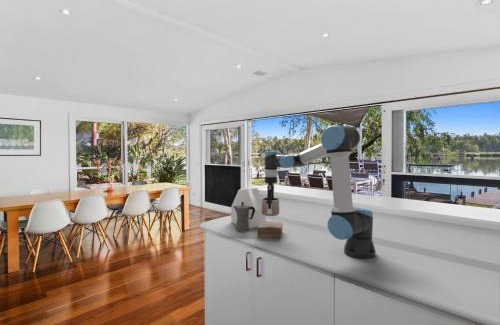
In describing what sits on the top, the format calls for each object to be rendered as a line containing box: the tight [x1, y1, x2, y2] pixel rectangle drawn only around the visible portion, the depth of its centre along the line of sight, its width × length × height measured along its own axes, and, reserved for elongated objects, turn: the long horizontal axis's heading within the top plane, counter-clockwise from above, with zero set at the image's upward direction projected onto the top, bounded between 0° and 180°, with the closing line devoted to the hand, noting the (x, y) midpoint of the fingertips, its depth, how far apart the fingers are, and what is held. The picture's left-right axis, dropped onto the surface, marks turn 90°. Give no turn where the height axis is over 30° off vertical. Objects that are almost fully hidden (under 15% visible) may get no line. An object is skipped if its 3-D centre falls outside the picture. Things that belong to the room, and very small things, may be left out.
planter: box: [261, 197, 280, 217], centre depth 182 cm, size 11×11×10 cm
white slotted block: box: [230, 186, 267, 229], centre depth 208 cm, size 19×15×25 cm
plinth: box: [257, 221, 283, 240], centre depth 183 cm, size 14×14×6 cm
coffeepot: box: [233, 202, 255, 232], centre depth 193 cm, size 15×9×18 cm, turn 69°
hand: (270, 211), depth 182 cm, fingers closed on planter, 11 cm apart
